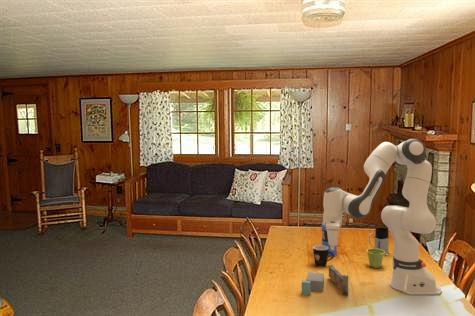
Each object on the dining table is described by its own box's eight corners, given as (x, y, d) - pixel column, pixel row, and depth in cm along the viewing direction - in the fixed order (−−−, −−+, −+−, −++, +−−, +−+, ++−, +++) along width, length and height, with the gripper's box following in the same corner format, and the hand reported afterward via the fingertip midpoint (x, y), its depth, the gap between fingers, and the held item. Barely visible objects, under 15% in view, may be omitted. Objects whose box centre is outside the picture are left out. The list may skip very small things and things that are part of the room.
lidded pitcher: (392, 254, 231) (392, 230, 230) (373, 257, 226) (374, 233, 225) (382, 250, 240) (382, 226, 238) (363, 253, 234) (364, 229, 233)
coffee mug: (309, 263, 219) (310, 246, 218) (322, 261, 222) (322, 244, 221) (321, 270, 208) (321, 252, 207) (334, 268, 211) (334, 250, 210)
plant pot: (385, 269, 208) (386, 254, 207) (367, 268, 210) (367, 253, 209) (382, 263, 217) (383, 248, 216) (365, 262, 219) (365, 247, 218)
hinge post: (347, 293, 180) (348, 275, 179) (348, 296, 177) (348, 277, 176) (342, 293, 180) (342, 274, 179) (342, 295, 178) (343, 276, 177)
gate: (346, 291, 180) (346, 279, 180) (342, 291, 180) (342, 279, 180) (332, 276, 198) (332, 265, 198) (328, 276, 198) (328, 265, 197)
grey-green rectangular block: (310, 293, 181) (310, 280, 180) (310, 295, 179) (310, 282, 178) (301, 292, 182) (301, 280, 181) (301, 294, 180) (301, 282, 179)
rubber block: (324, 283, 192) (324, 273, 192) (322, 291, 183) (322, 281, 182) (308, 281, 195) (308, 272, 194) (305, 289, 185) (306, 279, 185)
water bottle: (335, 251, 238) (336, 212, 235) (338, 257, 229) (338, 216, 226) (320, 251, 239) (320, 212, 236) (322, 256, 229) (322, 215, 227)
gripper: (325, 215, 195) (325, 242, 196) (325, 226, 175) (325, 255, 176) (338, 216, 193) (338, 243, 194) (340, 227, 173) (339, 256, 175)
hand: (332, 249), depth 185 cm, fingers closed
